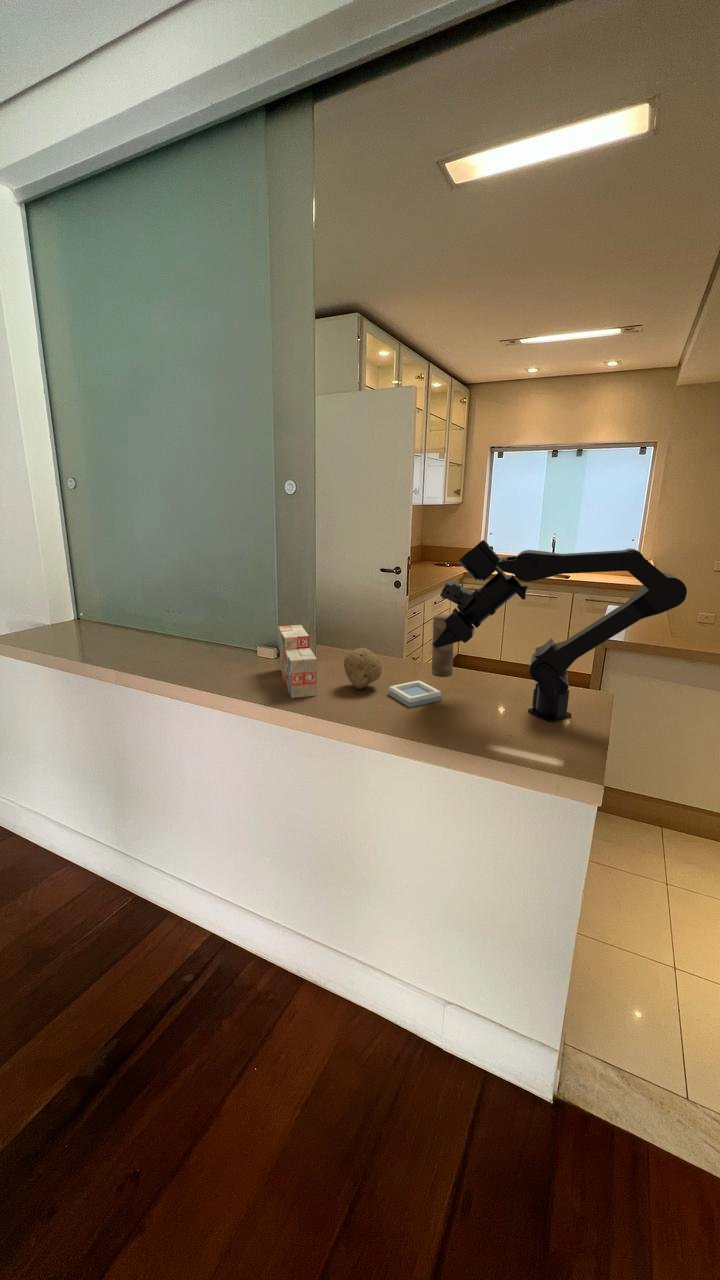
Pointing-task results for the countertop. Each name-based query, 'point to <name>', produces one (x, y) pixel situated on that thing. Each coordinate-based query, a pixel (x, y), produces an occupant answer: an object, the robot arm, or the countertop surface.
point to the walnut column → (441, 650)
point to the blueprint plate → (414, 693)
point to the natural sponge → (362, 667)
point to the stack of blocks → (297, 661)
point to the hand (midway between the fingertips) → (436, 643)
